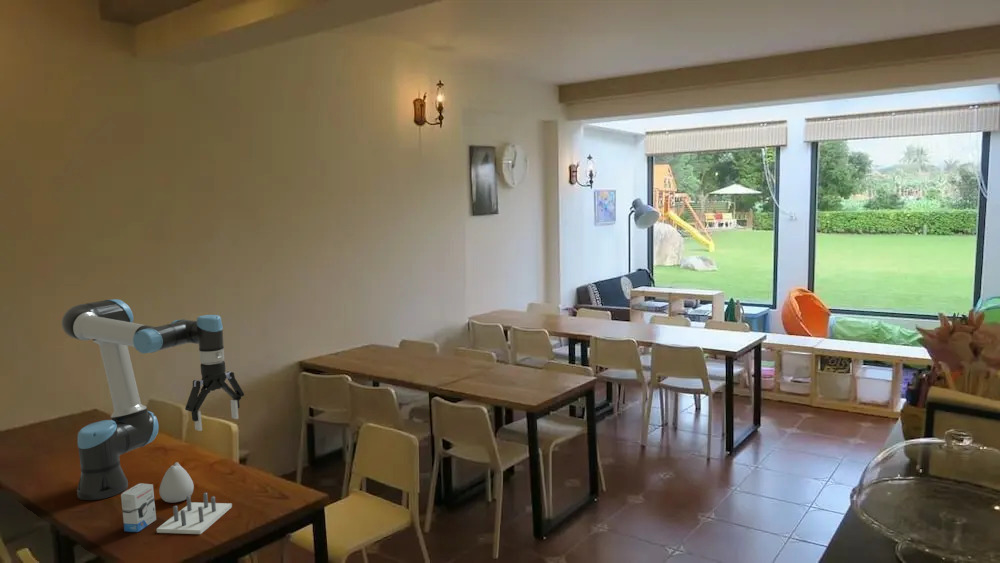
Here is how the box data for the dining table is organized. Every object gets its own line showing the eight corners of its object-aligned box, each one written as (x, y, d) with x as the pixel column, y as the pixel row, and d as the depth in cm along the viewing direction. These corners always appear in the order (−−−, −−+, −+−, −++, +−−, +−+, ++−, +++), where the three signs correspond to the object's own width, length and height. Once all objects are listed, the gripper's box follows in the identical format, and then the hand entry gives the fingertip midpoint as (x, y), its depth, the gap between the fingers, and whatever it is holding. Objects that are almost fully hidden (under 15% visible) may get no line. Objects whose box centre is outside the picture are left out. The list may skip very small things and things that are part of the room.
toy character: (169, 492, 235) (166, 458, 234) (200, 491, 235) (197, 457, 234) (153, 505, 225) (150, 470, 224) (185, 505, 225) (182, 469, 223)
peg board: (156, 532, 206) (155, 514, 206) (191, 505, 224) (189, 489, 223) (200, 534, 204) (199, 515, 204) (231, 507, 222) (230, 490, 221)
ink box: (137, 532, 207) (134, 495, 205) (123, 531, 208) (119, 494, 206) (157, 519, 215) (153, 483, 214) (143, 518, 216) (139, 482, 215)
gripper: (183, 371, 216) (189, 437, 219) (252, 355, 237) (256, 415, 239) (170, 368, 221) (175, 433, 223) (238, 353, 241) (242, 412, 244)
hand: (217, 424), depth 231 cm, fingers open, 13 cm apart
